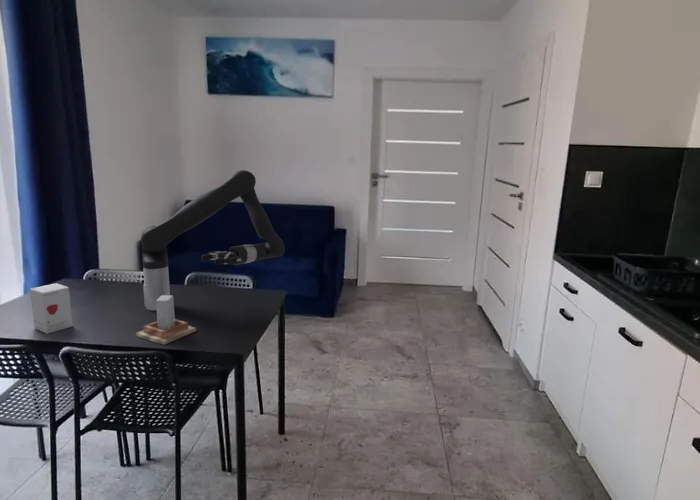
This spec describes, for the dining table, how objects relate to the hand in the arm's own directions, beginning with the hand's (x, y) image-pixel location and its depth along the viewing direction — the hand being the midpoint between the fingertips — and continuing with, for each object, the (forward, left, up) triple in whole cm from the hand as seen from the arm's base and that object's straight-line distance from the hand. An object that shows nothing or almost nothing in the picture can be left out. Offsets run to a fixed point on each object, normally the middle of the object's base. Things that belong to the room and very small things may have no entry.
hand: (208, 260), depth 172 cm
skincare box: (-1, -20, -22) cm, 30 cm away
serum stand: (-1, -20, -23) cm, 30 cm away
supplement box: (-39, -37, -23) cm, 58 cm away
